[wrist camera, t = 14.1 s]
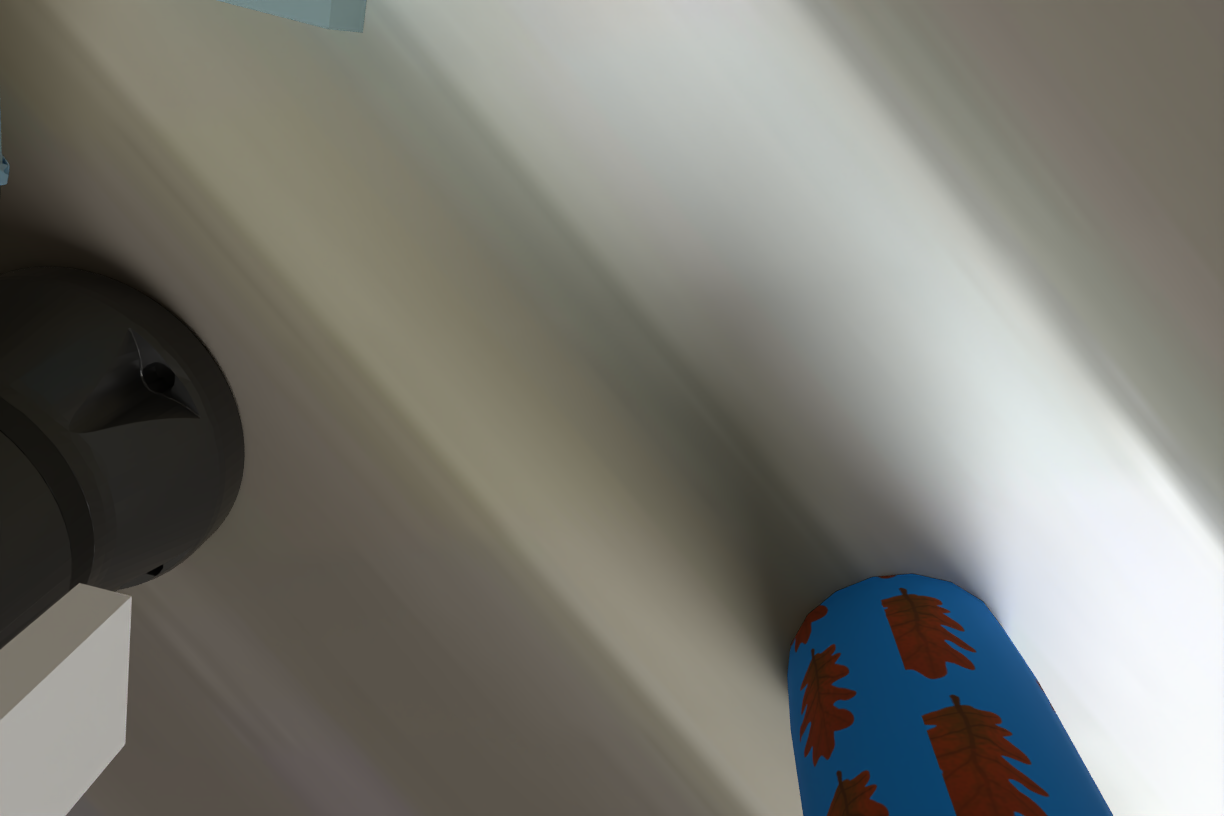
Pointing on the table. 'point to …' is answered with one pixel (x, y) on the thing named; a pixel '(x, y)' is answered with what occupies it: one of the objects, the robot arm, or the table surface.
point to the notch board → (313, 11)
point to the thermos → (924, 711)
